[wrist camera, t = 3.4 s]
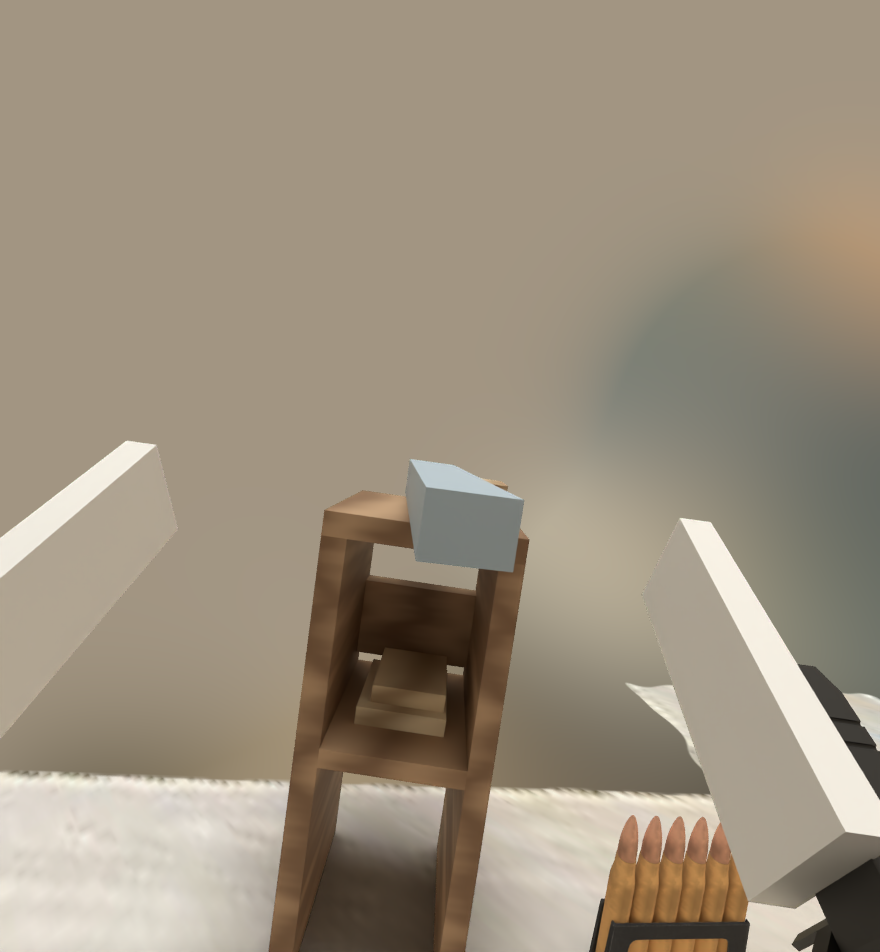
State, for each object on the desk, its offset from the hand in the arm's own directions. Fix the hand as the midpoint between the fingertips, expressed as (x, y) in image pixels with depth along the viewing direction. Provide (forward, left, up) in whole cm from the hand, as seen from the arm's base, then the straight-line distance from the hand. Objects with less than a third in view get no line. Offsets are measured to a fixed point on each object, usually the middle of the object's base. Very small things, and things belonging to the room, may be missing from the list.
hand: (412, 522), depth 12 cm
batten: (+10, +16, -3) cm, 19 cm away
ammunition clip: (+28, +6, -33) cm, 43 cm away
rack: (+11, +18, -33) cm, 39 cm away
